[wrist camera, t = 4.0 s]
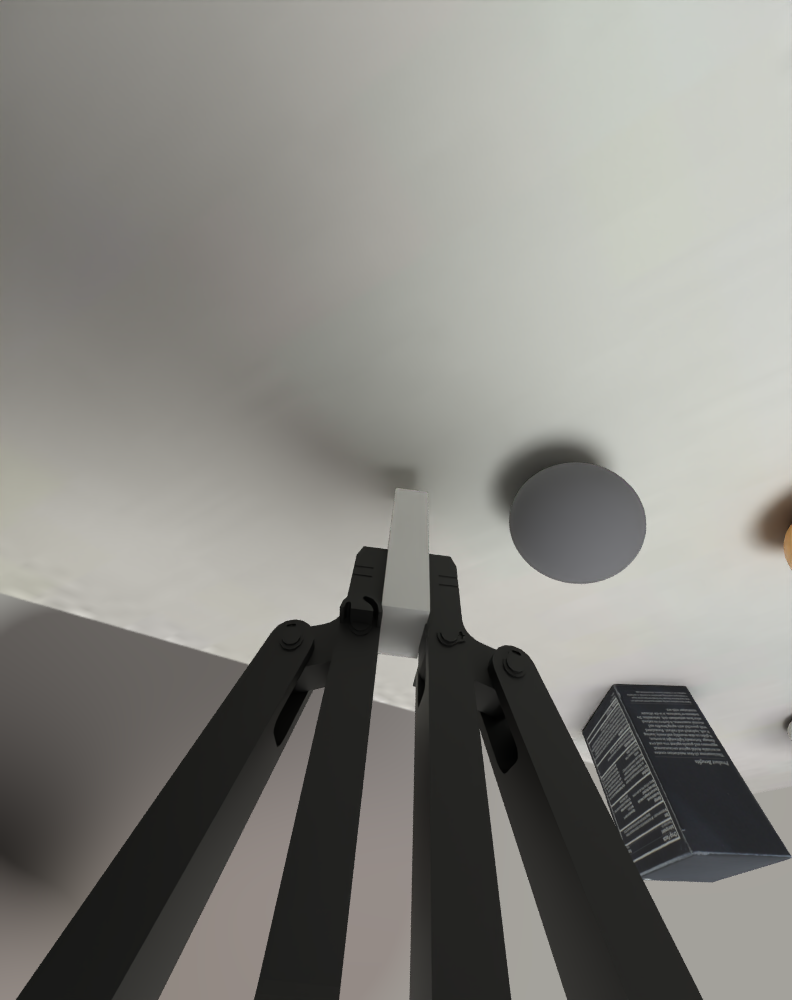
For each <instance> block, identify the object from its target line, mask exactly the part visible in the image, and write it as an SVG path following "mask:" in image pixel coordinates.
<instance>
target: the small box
mask: <svg viewBox="0 0 792 1000" xmlns="http://www.w3.org/2000/svg"><path fill="white" fill-rule="evenodd" d="M582 733H583V736H584V738H585V741H586V744H587V747H588V749H589V752H590V754H591V757H592V760H593V763H594V765H595V768H596V771H597V774H598V776H599V779H600V782H601V785H602V788H603V791H604V793H605V796H606V799H607V803H608V806H609V808H610V811H611V814H612V817H613V820H614V823H615V825H616V828H617V830H618V832H619V834H620V836H621V838H622V840H623V842H624V844H625V846H626V848H627V849H628V851H629V853H630V855H631V857H632V859H633V861H634V863H635V865H636V867H637V869H638V871H639V873H640V875H641V877H642V879H643V880H661V881H689V882H715V881H718V880H721V879H724V878H728V877H731V876H734V875H738V874H741V873H745V872H748V871H751V870H754V869H758V868H761V867H764V866H768V865H771V864H774V863H778V862H781V861H784V860H787V859H790V858H791V855H790V854H789V852H788V851H787V849H786V847H785V846H784V844H783V842H782V841H781V839H780V838H779V836H778V835H777V833H776V831H775V830H774V828H773V826H772V825H771V823H770V822H769V820H768V818H767V817H766V815H765V814H764V812H763V810H762V809H761V807H760V806H759V804H758V802H757V801H756V799H755V798H754V796H753V794H752V793H751V791H750V789H749V788H748V786H747V785H746V783H745V781H744V780H743V778H742V777H741V775H740V773H739V772H738V770H737V768H736V767H735V765H734V764H733V762H732V760H731V759H730V757H729V756H728V754H727V752H726V751H725V749H724V747H723V746H722V744H721V743H720V741H719V739H718V738H717V736H716V735H715V733H714V731H713V730H712V728H711V727H710V725H709V723H708V721H707V720H706V718H705V717H704V715H703V713H702V712H701V710H700V708H699V707H698V705H697V704H696V702H695V700H694V699H693V697H692V695H691V694H690V692H689V691H688V689H687V687H685V686H654V685H613V686H612V688H611V689H610V691H609V692H608V694H607V695H606V697H605V698H604V700H603V701H602V703H601V704H600V706H599V708H598V709H597V711H596V712H595V714H594V715H593V717H592V718H591V720H590V721H589V723H588V724H587V726H586V727H585V729H584V731H583V732H582Z"/></svg>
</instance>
